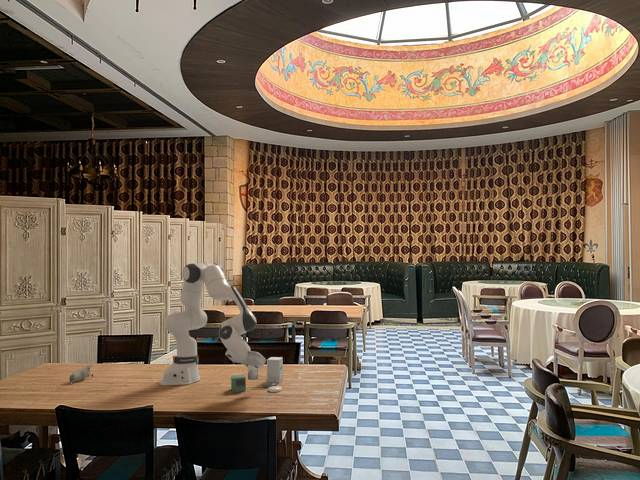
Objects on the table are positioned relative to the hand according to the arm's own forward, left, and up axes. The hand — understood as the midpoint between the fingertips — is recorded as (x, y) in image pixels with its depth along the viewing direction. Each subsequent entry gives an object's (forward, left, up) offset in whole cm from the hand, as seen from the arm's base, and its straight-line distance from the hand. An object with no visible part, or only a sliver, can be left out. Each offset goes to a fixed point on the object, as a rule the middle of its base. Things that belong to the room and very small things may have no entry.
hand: (253, 366), depth 257 cm
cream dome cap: (+11, +1, -13) cm, 17 cm away
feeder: (-7, +8, -13) cm, 17 cm away
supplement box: (+14, +19, -14) cm, 27 cm away
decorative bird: (-93, +58, -14) cm, 110 cm away
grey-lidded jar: (-1, 0, -6) cm, 6 cm away
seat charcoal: (+10, +10, -13) cm, 20 cm away
